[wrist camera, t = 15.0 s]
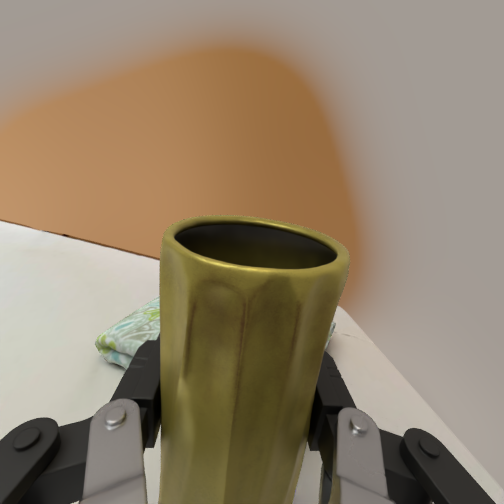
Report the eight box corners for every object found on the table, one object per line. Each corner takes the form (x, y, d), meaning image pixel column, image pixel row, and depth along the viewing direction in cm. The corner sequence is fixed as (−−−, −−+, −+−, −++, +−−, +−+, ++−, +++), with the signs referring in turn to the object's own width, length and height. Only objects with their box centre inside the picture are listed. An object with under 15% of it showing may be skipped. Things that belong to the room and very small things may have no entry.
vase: (128, 642, 9) (90, 269, 4) (170, 452, 15) (173, 205, 10) (298, 629, 9) (433, 295, 5) (273, 452, 15) (323, 221, 10)
